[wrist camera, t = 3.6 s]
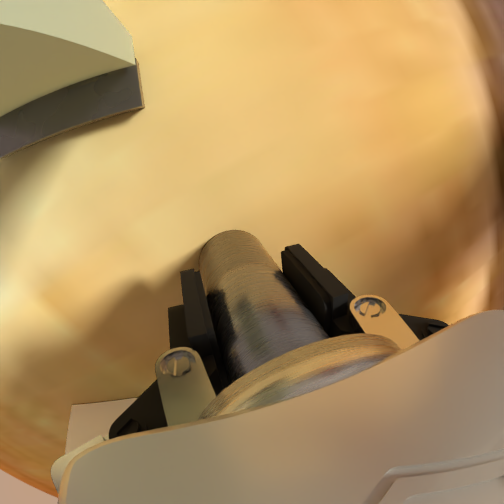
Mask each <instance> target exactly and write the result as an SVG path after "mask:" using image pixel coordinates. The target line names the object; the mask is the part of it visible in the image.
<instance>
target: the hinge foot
mask: <svg viewBox="0 0 504 504" xmlns="http://www.w3.org/2000/svg"><path fill="white" fill-rule="evenodd" d="M135 63H136V65H133V66H129V67H126V68H122V69H118V70H115V71H111V72H108V73H105V74H101V75H98V76H95V77H92V78H89V79H86V80H83V81H80V82H77V83H75V84H72V85H69V86H67V87H64V88H61V89H59V90H56V91H54V92H52V93H49V94H47V95H44V96H42V97H40V98H38V99H35V100H33V101H31V102H29V103H27V104H25V105H23V106H21V107H19V108H17V109H15V110H13V111H11V112H9V113H7V114H5V115H3V116H1V117H0V159H1V158H5V157H7V156H9V155H11V154H13V153H15V152H18V151H20V150H22V149H24V148H26V147H29V146H31V145H33V144H36V143H38V142H40V141H43V140H45V139H48V138H50V137H53V136H55V135H58V134H60V133H63V132H66V131H68V130H71V129H74V128H77V127H80V126H83V125H86V124H89V123H92V122H95V121H98V120H101V119H105V118H108V117H111V116H115V115H118V114H122V113H125V112H129V111H133V110H137V109H141V108H145V105H144V99H143V92H142V86H141V78H140V71H139V63H138V61H137V60H136V58H135Z"/></svg>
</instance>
